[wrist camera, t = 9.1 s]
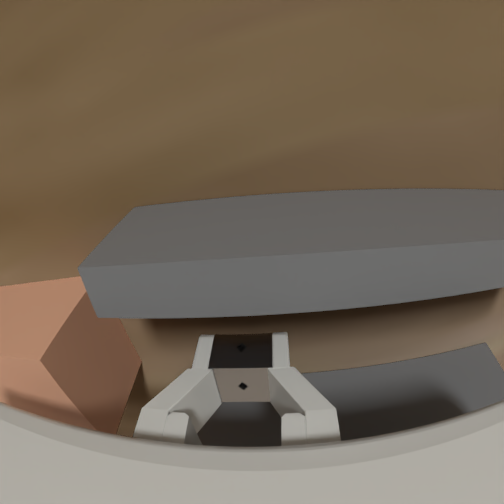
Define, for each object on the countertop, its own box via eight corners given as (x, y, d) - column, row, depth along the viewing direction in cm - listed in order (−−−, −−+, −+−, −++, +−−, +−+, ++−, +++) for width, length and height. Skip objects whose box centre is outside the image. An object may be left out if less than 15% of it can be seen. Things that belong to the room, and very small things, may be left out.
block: (100, 272, 12) (39, 360, 7) (142, 359, 14) (112, 445, 10) (-8, 286, 12) (-59, 344, 8) (33, 354, 15) (-3, 415, 10)
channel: (532, 191, 9) (593, 232, 6) (476, 361, 14) (504, 412, 10) (134, 207, 10) (77, 267, 7) (191, 394, 15) (178, 461, 11)
